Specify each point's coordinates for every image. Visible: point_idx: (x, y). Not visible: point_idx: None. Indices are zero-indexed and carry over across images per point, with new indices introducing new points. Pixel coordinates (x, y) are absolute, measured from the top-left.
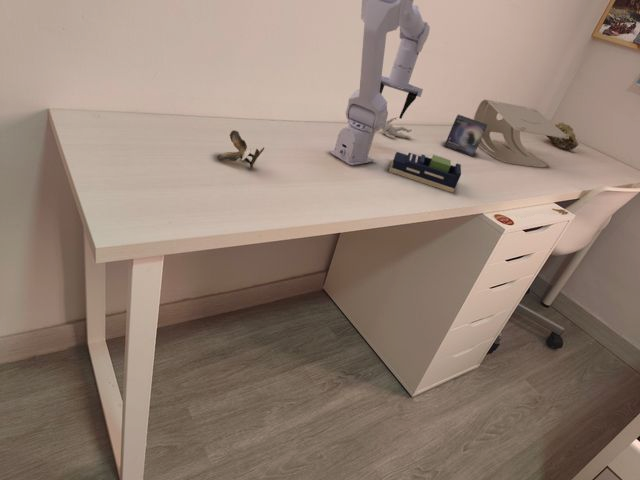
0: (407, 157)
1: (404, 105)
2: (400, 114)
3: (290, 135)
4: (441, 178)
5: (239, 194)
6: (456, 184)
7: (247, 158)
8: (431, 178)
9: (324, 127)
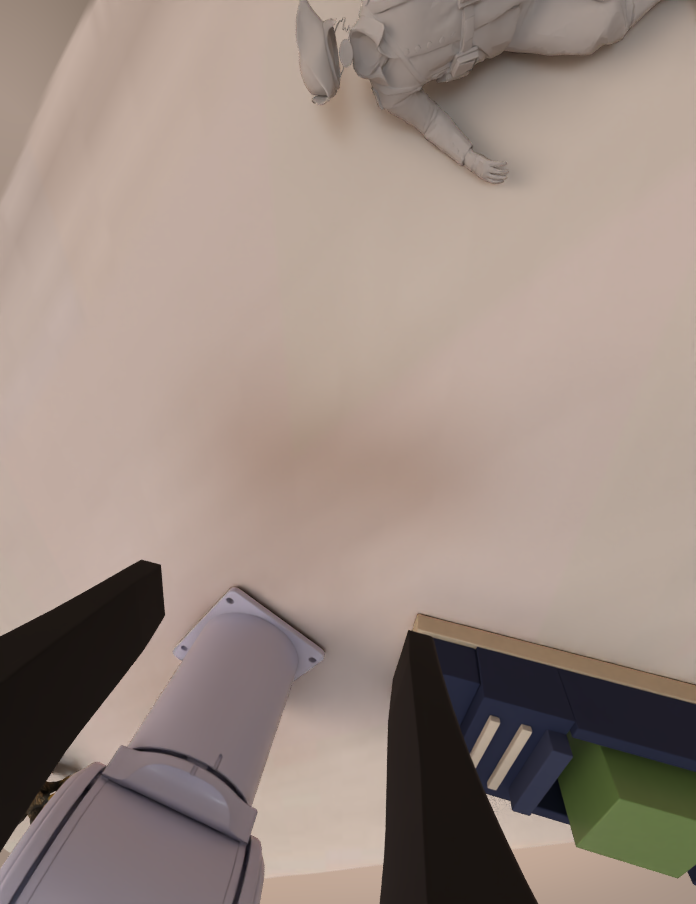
0: None
1: (385, 900)
2: (389, 728)
3: (17, 567)
4: None
5: None
6: None
7: (49, 792)
8: None
9: (44, 365)
